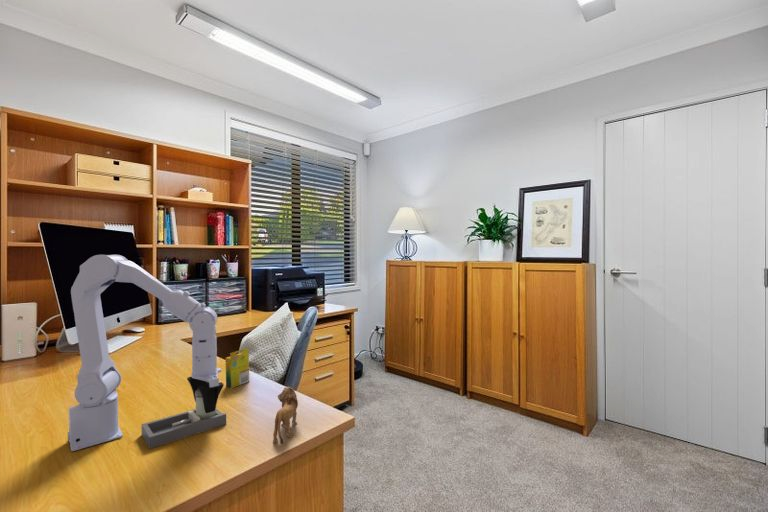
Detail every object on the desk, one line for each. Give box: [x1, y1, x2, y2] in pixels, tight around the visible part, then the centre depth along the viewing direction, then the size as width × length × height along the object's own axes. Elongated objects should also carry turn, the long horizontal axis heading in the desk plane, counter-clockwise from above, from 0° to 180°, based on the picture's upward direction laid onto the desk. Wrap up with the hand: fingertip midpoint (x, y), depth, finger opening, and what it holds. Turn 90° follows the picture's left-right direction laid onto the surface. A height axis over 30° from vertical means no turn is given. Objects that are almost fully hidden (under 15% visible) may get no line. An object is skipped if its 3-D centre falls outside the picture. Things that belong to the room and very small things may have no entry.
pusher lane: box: [141, 408, 227, 450], centre depth 92 cm, size 17×9×3 cm, turn 134°
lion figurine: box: [272, 386, 299, 445], centre depth 91 cm, size 15×5×9 cm, turn 10°
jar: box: [195, 389, 217, 420], centre depth 95 cm, size 5×5×8 cm
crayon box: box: [224, 347, 250, 389], centre depth 123 cm, size 7×3×12 cm, turn 149°
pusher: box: [172, 409, 200, 428], centre depth 92 cm, size 6×6×2 cm
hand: (205, 407), depth 95 cm, fingers open, 7 cm apart
